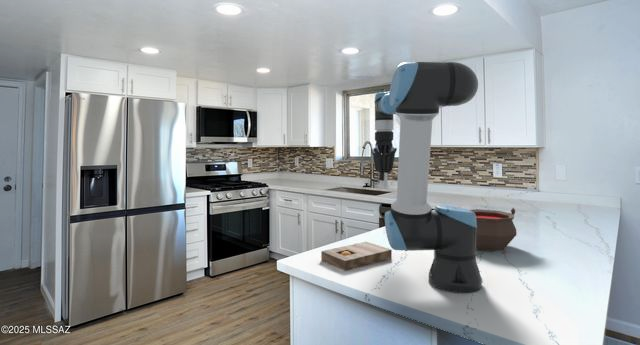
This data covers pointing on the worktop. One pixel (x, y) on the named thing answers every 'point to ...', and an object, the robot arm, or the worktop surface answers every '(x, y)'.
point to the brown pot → (494, 229)
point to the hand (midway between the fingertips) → (383, 188)
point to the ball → (345, 253)
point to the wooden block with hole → (356, 255)
